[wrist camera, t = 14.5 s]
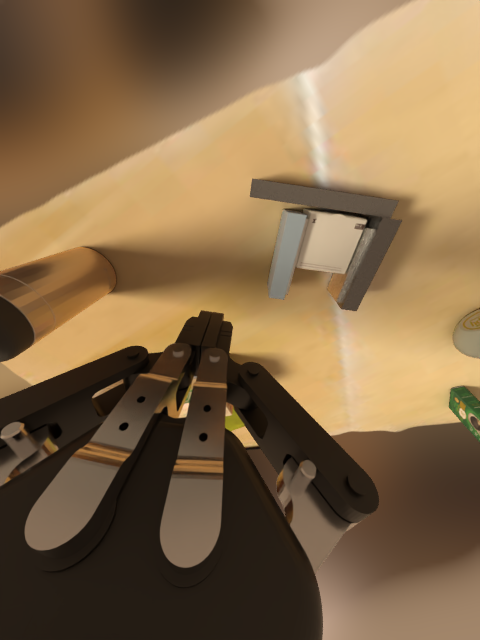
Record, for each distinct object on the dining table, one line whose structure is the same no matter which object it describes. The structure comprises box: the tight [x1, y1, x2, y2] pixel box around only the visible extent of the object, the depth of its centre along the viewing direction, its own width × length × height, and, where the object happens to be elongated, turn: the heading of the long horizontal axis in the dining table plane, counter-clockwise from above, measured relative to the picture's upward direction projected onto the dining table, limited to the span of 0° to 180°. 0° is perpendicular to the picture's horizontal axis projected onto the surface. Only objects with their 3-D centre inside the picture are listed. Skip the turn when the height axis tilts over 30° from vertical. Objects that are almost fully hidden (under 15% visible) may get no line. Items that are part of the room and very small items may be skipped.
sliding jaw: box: [267, 209, 309, 300], centre depth 31 cm, size 3×12×6 cm, turn 173°
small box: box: [296, 209, 367, 274], centre depth 31 cm, size 8×8×5 cm
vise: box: [250, 179, 402, 311], centre depth 31 cm, size 19×15×7 cm
